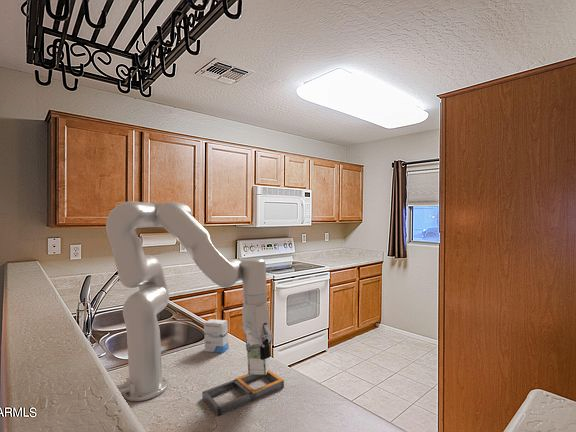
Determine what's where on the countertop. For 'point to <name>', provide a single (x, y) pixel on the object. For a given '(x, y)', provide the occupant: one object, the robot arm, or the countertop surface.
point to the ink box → (216, 335)
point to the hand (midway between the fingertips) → (258, 353)
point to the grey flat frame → (241, 391)
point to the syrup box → (255, 356)
